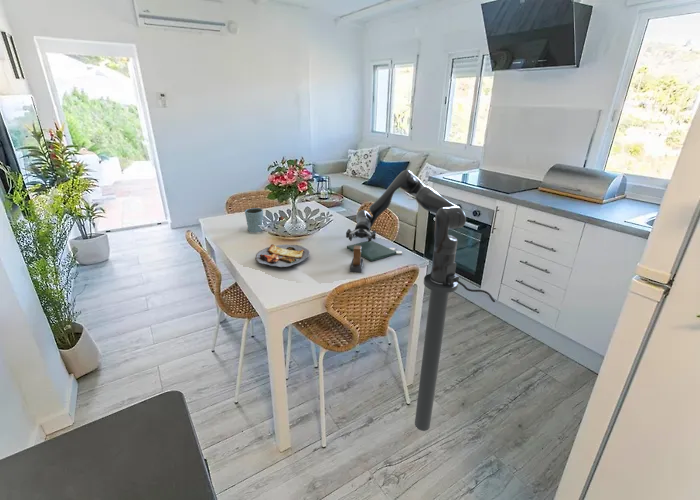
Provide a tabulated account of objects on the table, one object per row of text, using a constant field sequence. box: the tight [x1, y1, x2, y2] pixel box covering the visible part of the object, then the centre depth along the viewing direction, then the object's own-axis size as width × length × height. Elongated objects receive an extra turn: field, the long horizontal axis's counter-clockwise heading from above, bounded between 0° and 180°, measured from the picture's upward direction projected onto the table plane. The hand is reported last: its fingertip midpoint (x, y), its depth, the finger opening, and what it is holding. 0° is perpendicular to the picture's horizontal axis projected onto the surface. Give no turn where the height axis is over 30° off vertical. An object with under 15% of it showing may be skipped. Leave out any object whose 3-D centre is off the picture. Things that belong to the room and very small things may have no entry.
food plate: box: [254, 243, 311, 268], centre depth 165 cm, size 25×23×4 cm
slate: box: [346, 239, 397, 262], centre depth 176 cm, size 20×16×1 cm
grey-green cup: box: [244, 207, 264, 233], centre depth 200 cm, size 10×10×12 cm
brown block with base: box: [349, 246, 364, 274], centre depth 155 cm, size 5×10×10 cm, turn 173°
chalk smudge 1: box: [395, 250, 403, 255], centre depth 174 cm, size 3×3×1 cm
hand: (359, 239), depth 163 cm, fingers open, 8 cm apart
